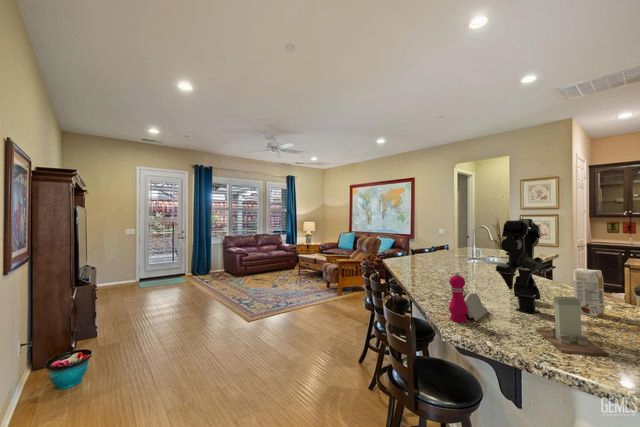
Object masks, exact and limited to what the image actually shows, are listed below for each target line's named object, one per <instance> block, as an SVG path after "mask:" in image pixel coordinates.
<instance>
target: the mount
mask: <svg viewBox="0 0 640 427" xmlns="http://www.w3.org/2000/svg"><path fill="white" fill-rule="evenodd" d="M535 331H536V332H537V334H539V335H541V337H543V338H544V339H546V341H547V342H549V343H550V344H551V345H552V346H553V347H555V348H556V349H557V350H558V351H559V352H560V353H564V354H565V353H567V354H575V353H576V355H577V354H579V355H589V356H596V357H597V356H598V357H609V358H610V353H609V352H607V351H605V350H604V349H602V348H600V347H599V346H598V345H596V344H595V343H593V342H592V341H590V340H589V339H588V336H586V335H582V336H579V335H576V337H577V342H570V336H569V335H566V334H559V339H557V338H556V332H555V327H550V329H546V328H544V329H543V328H536V329H535Z"/></svg>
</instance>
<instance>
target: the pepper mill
mask: <svg viewBox="0 0 640 427" xmlns="http://www.w3.org/2000/svg"><path fill="white" fill-rule="evenodd" d="M448 281H449V282H448V283H449V285H450V291H451V294H452V295H451V300H450V302H449V304H448V311H449V312H450V314H449V317H450V320H451V321H453V322H456V323H466V322H467V321H468V318H467V316H466V314H467V313H468V308H467V305H466V303H465V301H464V298H463V295H464V292H465V287H464V286H465V285H466V281H465V278H464V277H463V276H461V275H460V272H458V271H455V272H454V275H452V276H451V277H450V278H449V280H448Z"/></svg>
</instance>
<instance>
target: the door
mask: <svg viewBox="0 0 640 427" xmlns="http://www.w3.org/2000/svg"><path fill="white" fill-rule="evenodd" d="M553 302H554V303H553V304H554V305H553V308H554V323H555V324H554V328H555V332H556V338H557V339H559V334H566V335H569V336H570V342H577V337H576V335H579V336H583V334H582V333H583V331H582V314H581V309H580V299H577V298H575V297H574V296H555V295H554V296H553Z"/></svg>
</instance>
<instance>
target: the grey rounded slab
mask: <svg viewBox="0 0 640 427" xmlns="http://www.w3.org/2000/svg"><path fill="white" fill-rule="evenodd" d="M463 298H464V301H465V303H466V305H467V308H468V313H467V314H466V316H467V319H472V318H473V319H474V321H475V322H477V321H478V320H479V319H480V318H483V316H485V314H488V313H489V312H488V311H489V310H488V308H487V307H485V306H484V305H483V303H482V301H481V298H480V297H479V295H478V293H474V292H472V293H466V294H463Z"/></svg>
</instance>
